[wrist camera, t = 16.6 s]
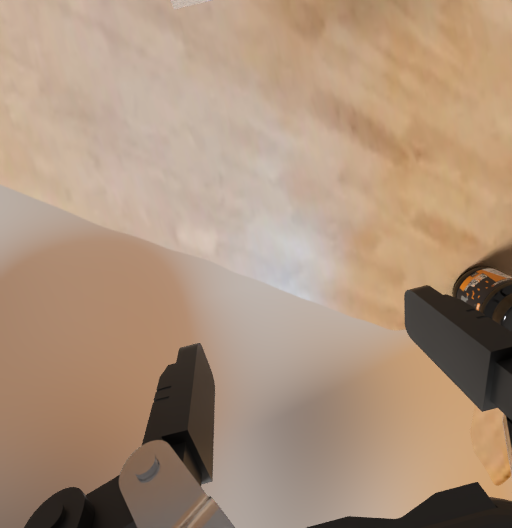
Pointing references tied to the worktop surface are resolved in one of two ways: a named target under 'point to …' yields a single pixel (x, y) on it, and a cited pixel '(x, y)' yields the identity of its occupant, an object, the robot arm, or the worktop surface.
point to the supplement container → (487, 293)
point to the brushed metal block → (185, 3)
